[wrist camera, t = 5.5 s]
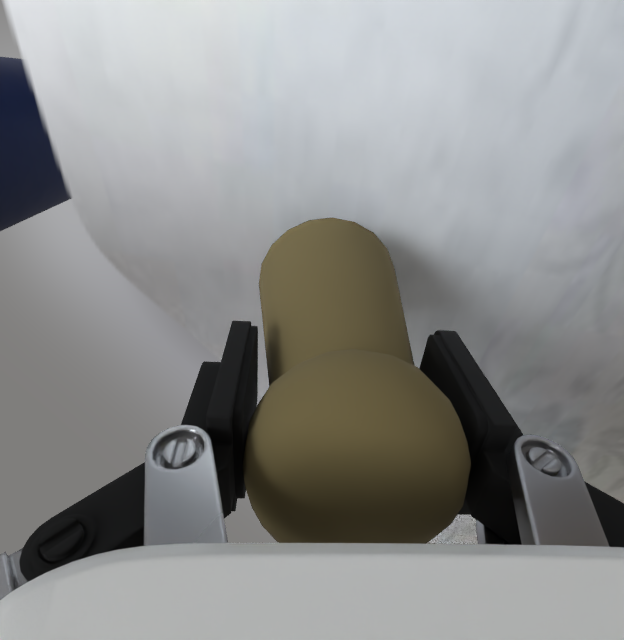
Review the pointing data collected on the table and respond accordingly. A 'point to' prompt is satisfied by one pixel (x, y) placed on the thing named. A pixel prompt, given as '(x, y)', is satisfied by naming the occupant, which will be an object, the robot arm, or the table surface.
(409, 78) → the table surface
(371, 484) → the pepper shaker
